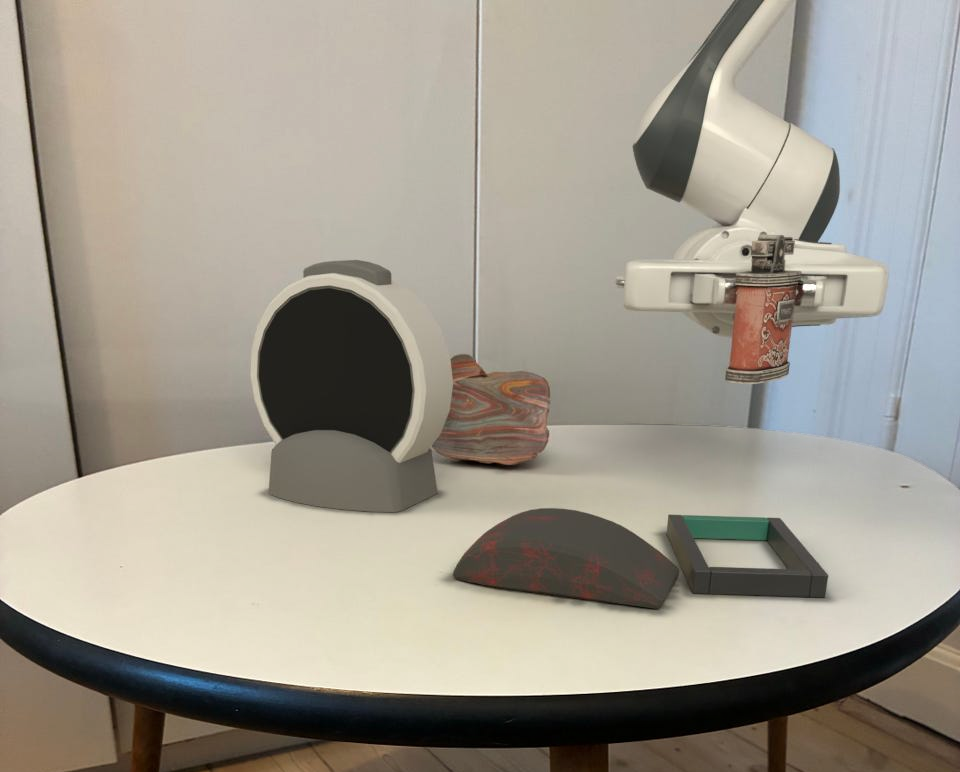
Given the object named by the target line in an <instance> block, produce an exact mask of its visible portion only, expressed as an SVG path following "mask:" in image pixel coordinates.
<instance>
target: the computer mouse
mask: <svg viewBox="0 0 960 772" xmlns="http://www.w3.org/2000/svg"><path fill="white" fill-rule="evenodd" d="M680 572H681V571H680V569H679V567H678V566H677V565H676V564H675V563H674V562H673V561H671V560H670V559H669V558H668V557H667V556H666V555H664V554H663V553H662V552H661V551H660V550H658V549H657V548H656V547H654V546H653V545H652V544H650V543H649V542H647V541H646V540H645V539H643V538H642V537H641V536H639V535H637V534H636V533H634V532H633V531H632V530H630V529H628V528H627V527H626V526H623V525H621V524H619V523H616V522H615V521H613V520H610V519H607V518H604V517H601V516H599V515H594V514H591V513H590V512H589V513H588V512H584V511H579V510H576V509H568V508H559V507H558V508H557V507H544V508H543V507H540V508H532V509H528V510H525V511H521V512H519V513H516V514H514V515H512V516H510V517H508V518H505V519H503V520H502V521H501V522H499V523H497V524H495V525H494V526H492V527H491V528H490V529H488V530H487V531H485V532H484V533H482V535H481V536H479V537H478V539H476V541H474V543H473V544H472V545H470V546H469V548H468V549H467V550H466V551H465V552H464V554H463V555H462V556H461V557H460V559H459V561H458V562H457V564H456V566H455V568H454V570H453V572H452V576H453V577H454V578H455V579H457V580H459V581H463V582H468V583H474V584H478V585H483V586H486V587H491V588H498V589H502V590H510V591H519V592H524V593H533V594H541V595H548V596H555V597H563V598H570V599H579V600H586V601H592V602H600V603H601V602H602V603H609V604H610V603H611V604H618V605H627V606H635V607H642V608H647V609H648V608H649V609H655V610H657V609H660V608H662V606H663V605H664V604H665V601H666V600H667V597H668V595H669V594H670V592H671V590H672V588H673V586H674V585H675V583H676V581H677V580H678V578H679V575H680Z"/></svg>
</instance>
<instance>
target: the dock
mask: <svg viewBox="0 0 960 772" xmlns="http://www.w3.org/2000/svg"><path fill="white" fill-rule="evenodd" d="M666 535H667V538H668V540H669V543H670V544H671V546H672V550H673V551H674V553H675V556H676V558H677V561H678V563H679V565H680V568H681V569H682V572H683V574H684V576H685V579H686V582H687V584H688V586H689V588H690V590H691V593H692V594H699V595H700V594H702V595H708V594H709V595H735V596H761V597H762V596H763V597H764V596H766V597H793V598H794V597H795V598H826V594H827V587H828V580H829V574H828V573H827V571H826V570H824V568H823V567H822V565H820V563H819V562H818V561H817V559H815V557H813V555H812V554H811V553H810V551H809V550H808V549H807V548H806V547H805V546H804V544H803V543H802V542H801V541H800V540H799V538H798V537H797V536H796V535H795V533H793V531H791V529H790V528H789V527H788V526H787V524H786V523H785V522H784V520H783V519H782V518H781V517H761V516H760V517H758V516H730V515H729V516H728V515H726V516H725V515H697V514H696V515H695V514H690V515H689V514H683V515H682V514H668V515H667V524H666ZM695 539H702V540H703V539H709V540H735V541H737V540H739V541H741V540H743V541H767V542H768V544H769V545H770V547H772V549H773V550H774V551H775V553H776V555H777V556H778V557H779V559H780V560H781V561H782V562H783V564H784V565H785V566H786V568H768V567H767V568H765V567H764V568H762V567H736V566H735V567H734V566H733V567H732V566H731V567H730V566H709V564H708V563H707V561H706V559H705V557H704V556H703V554H702V552H701V549H700V547H699V546H698V543H697V541H696V540H695Z"/></svg>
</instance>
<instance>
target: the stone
mask: <svg viewBox="0 0 960 772" xmlns="http://www.w3.org/2000/svg"><path fill="white" fill-rule="evenodd" d="M450 359H451V369H452V378H453V389H452V397H451V404H450V411H449V413H448V416H447V419H446V421H445V424H444V426H443V429H442V432H441V434H440V435H439V437H438V438H437V439H436V441H435V442H434V443H433V445H432V446H431V448H433V449H434V450H435V452H436V453H438V454H439V455H441V456H442V457H445V458H448V459H452V460H459V461H473V462H479V463H480V464H481V463H482V464H493V463H495V464H499V465H505V466H513V465H518V464H522V463H525V462H527V461H532V460H534V459H536V458H537V456H538V454H540V453H542V452H543V451H544V450H545V449H546V447H547V445H548V443H549V438H550V430H549V429H548V426H547V424H548V416H549V412H550V409H549V408H550V404H551V388H550V384H549V381H548V380H547V379H546V378H545V377H543V376H541V375H539V374H537V373H534V372H530V371H525V370H518V371H492V372H490V373H487V372H486V371H485V370H484V369H483V367H482V366H481V365H479V363H477V359H476V358H475V357H473V356H472V355H471V354H468V353H458V354H455V355H453V356H452V357H450Z"/></svg>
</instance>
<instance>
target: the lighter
mask: <svg viewBox="0 0 960 772" xmlns="http://www.w3.org/2000/svg"><path fill="white" fill-rule="evenodd" d="M794 245H795V241H794V240H793V237H784V235H759V237H758V240H757V241H752V247H751V256H752V260H751V262H752V267H751V271H746V272H739V273H736V280H735V284H736V285H738V288H737V298H736V307H735V317H734V326H733V336H732V338H731V345H730V355H729V363H728V364H729V365H728V367H726V368H725V375H724V376H725V378H724V381H725V382H727V383H731V384H741V385H744V384H745V385H757V384H763V383H769V382H774V381H777V380H781V379H783V378H786V377H787V376H788V375H789V373H790V364H791V362H790V361H788V359H789V353H790V345H791V338H792V337H791V335H792V329H793V327H792V321H793V313H794V306H795V298H796V290H797V283H798V280H801V271H790V270H784V269H785V261H786V260H784V256H785V255H793V253H794Z"/></svg>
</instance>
